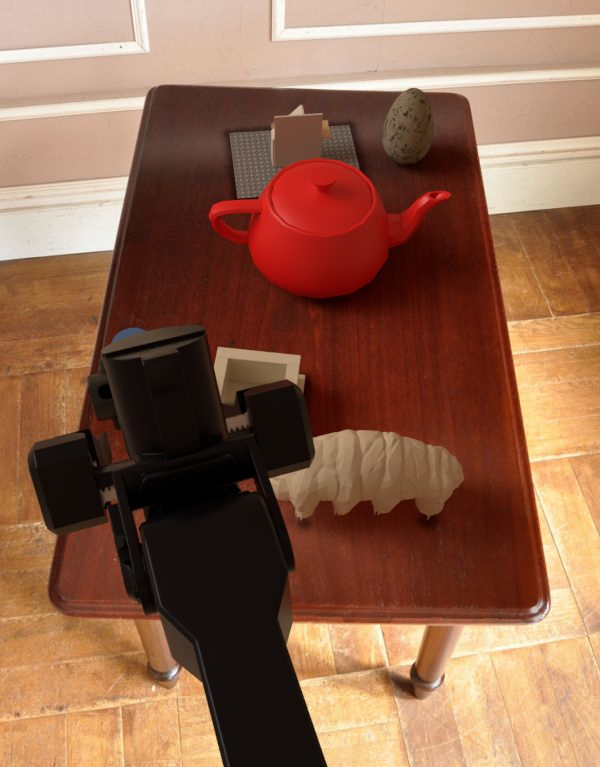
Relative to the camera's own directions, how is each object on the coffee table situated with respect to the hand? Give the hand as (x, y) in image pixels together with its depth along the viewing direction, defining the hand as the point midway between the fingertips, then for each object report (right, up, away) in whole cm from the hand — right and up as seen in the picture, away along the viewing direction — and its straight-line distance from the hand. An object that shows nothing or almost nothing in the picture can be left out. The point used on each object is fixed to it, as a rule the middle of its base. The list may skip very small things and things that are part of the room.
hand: (164, 422), depth 66 cm
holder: (+6, 0, +17) cm, 18 cm away
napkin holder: (+10, +30, +37) cm, 49 cm away
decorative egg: (+23, +30, +38) cm, 54 cm away
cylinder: (-4, -1, +16) cm, 17 cm away
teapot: (+13, +17, +29) cm, 36 cm away
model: (+16, -8, +13) cm, 22 cm away
